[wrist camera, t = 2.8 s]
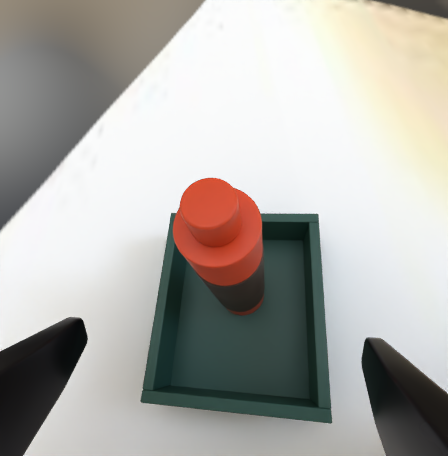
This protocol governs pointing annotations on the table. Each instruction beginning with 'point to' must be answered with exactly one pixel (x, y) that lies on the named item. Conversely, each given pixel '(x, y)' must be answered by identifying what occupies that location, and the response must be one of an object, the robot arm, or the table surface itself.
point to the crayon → (223, 242)
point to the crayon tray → (245, 333)
